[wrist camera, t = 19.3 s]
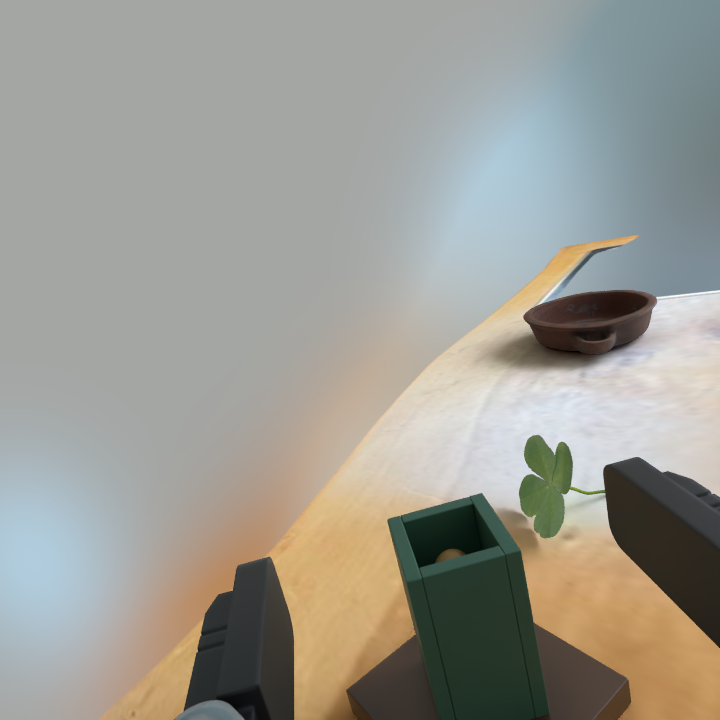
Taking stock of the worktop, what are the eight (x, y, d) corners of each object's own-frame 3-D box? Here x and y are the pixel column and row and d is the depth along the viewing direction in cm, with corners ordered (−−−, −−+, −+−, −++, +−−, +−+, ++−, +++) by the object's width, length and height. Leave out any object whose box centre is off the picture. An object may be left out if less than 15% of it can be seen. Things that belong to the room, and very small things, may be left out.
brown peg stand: (494, 871, 21) (449, 684, 19) (352, 711, 29) (308, 566, 27) (632, 702, 26) (611, 537, 24) (478, 606, 34) (450, 476, 32)
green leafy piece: (587, 563, 43) (516, 549, 41) (571, 468, 47) (506, 452, 45) (660, 539, 37) (581, 522, 35) (633, 434, 42) (562, 414, 40)
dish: (524, 372, 72) (518, 336, 70) (531, 326, 91) (526, 297, 90) (674, 356, 65) (671, 316, 64) (647, 310, 85) (644, 279, 83)
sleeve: (550, 714, 25) (521, 550, 23) (446, 745, 25) (405, 582, 22) (509, 634, 30) (481, 492, 27) (422, 659, 30) (386, 518, 27)
